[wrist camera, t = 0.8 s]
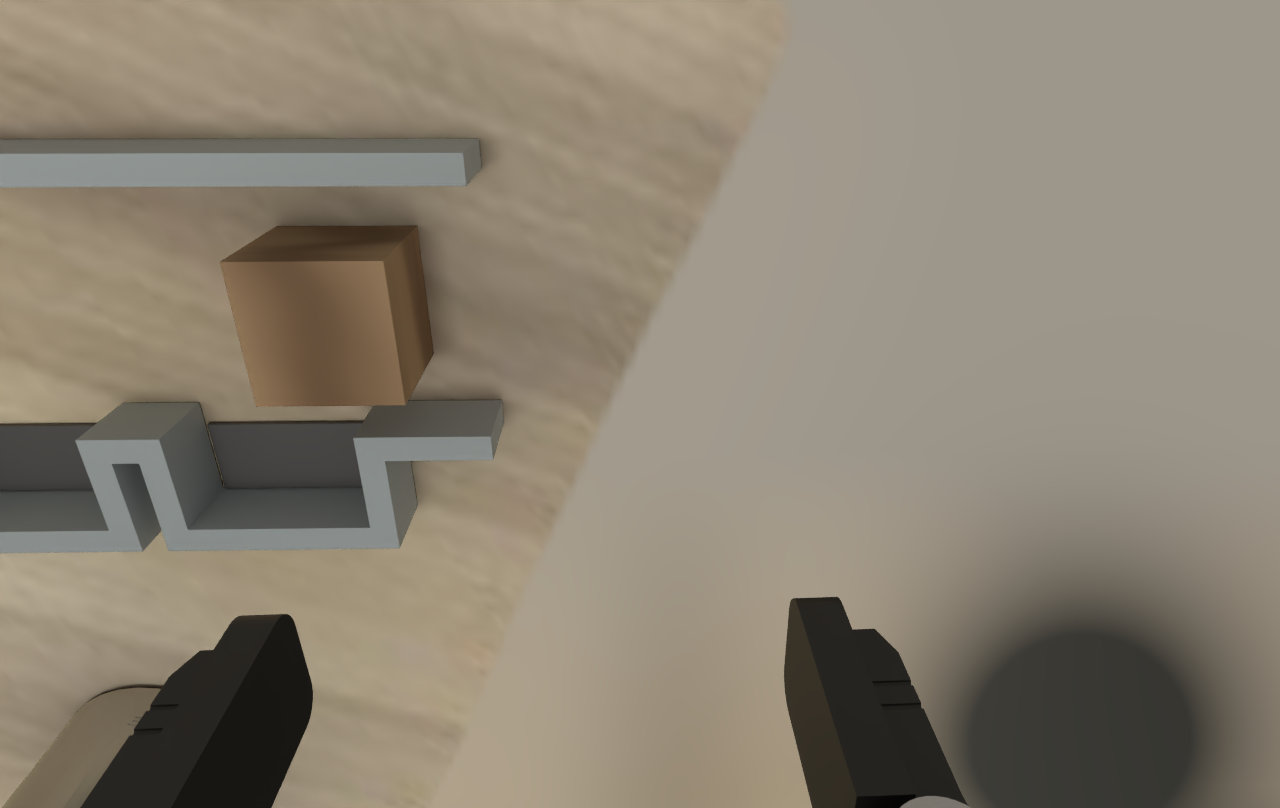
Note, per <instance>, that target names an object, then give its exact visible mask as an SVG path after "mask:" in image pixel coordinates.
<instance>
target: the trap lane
mask: <svg viewBox="0 0 1280 808" xmlns="http://www.w3.org/2000/svg"><path fill="white" fill-rule="evenodd" d="M481 169H482V168H481V156H480V145H479V139H0V187H280V186H467V184H468V183H469V182H470V181H471V180H472V179H473V178H474V177H475V175H476V174H477V173H478V172H479V171H480V170H481ZM503 424H504V417H503V405H502V400H439V401H407V403H406V405H374V406H373V407H372V409H371V410H370V412H369V413H368V415H367V417H366V418H365V420H364V421H311V422H210V423H209V424H208V428H209V432H210V435H211V439H212V442H213V446H214V450H215V453H216V457H217V460H218V464H219V467H220V471H221V474H222V478H223V481H224V485H225V487H223V484H222V481H221V477H220V474H219V470H218V467H217V463H216V460H215V456H214V453H213V449H212V446H211V442H210V439H209V435H208V432H207V428H206V425H205V421H204V418H203V414H202V411H201V407H200V404H199V402H194V403H122V404H121V405H120V406H118V407H117V408H116V409H114V410H113V411H112V412H111V413H109V414H108V415H107V416H106V417H104V418H103V419H102V420H100V421H99V422H98V423H81V424H0V553H50V552H134V551H144V550H145V548H146V547H147V546H148V545H149V544H150V543H151V542H152V541H153V539H154V538H155V537H156V536H157V535H158V534H159V533H160V531H161V530H162V533H163V536H164V539H165V542H166V545H167V548H168V551H219V550H303V549H388V548H400V546H401V544H402V542H403V539H404V537H405V534H406V532H407V530H408V527H409V525H410V522H411V520H412V517H413V515H414V513H415V510H416V508H417V498H416V492H415V485H414V479H413V472H412V466H411V461H454V460H493V459H494V455H495V452H496V448H497V445H498V441H499V438H500V434H501V431H502V427H503Z"/></svg>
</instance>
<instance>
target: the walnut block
mask: <svg viewBox="0 0 1280 808" xmlns="http://www.w3.org/2000/svg"><path fill="white" fill-rule="evenodd" d="M220 264H221V268H222V272H223V276H224V280H225V284H226V288H227V292H228V296H229V300H230V304H231V308H232V312H233V316H234V320H235V324H236V328H237V332H238V336H239V340H240V344H241V348H242V352H243V356H244V360H245V364H246V368H247V372H248V376H249V379H250V383H251V387H252V391H253V395H254V399H255V403H256V407H258V406H372V405H406V403H407V401H408V400H409V398H410V396H411V394H412V392H413V391H414V389H415V387H416V385H417V383H418V381H419V380H420V378H421V376H422V374H423V372H424V370H425V369H426V367H427V365H428V363H429V361H430V360H431V358H432V356H433V354H434V352H433V345H432V337H431V329H430V322H429V314H428V306H427V299H426V291H425V283H424V276H423V268H422V260H421V253H420V245H419V237H418V230H417V226H276V227H275V228H273V229H272V230H270V231H268V232H267V233H265V234H264V235H262V236H260V237H259V238H257V239H256V240H254V241H253V242H251V243H249V244H248V245H246V246H245V247H243V248H241V249H240V250H238V251H237V252H235V253H233V254H232V255H230V256H229V257H227V258H225V259H224V260H222V261H221V262H220Z"/></svg>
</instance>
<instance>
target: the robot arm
mask: <svg viewBox="0 0 1280 808" xmlns="http://www.w3.org/2000/svg"><path fill="white" fill-rule="evenodd" d="M786 643H787V644H786V654H785V666H784V667H785V668H784V682H785V694H786V701H787V707H788V711H789V716H790V720H791V723H792V727H793V731H794V736H795V739H796V744H797V748H798V751H799V756H800V760H801V763H802V768H803V772H804V776H805V780H806V784H807V788H808V792H809V796H810V800H811V804H812V808H971V807H969V806H968V805H967V803H966V801H965V799H964V798H963V796H962V794H961V792H960V790H959V787H958V785H957V783H956V780H955V778H954V776H953V774H952V771H951V769H950V767H949V765H948V763H947V760H946V758H945V756H944V754H943V751H942V749H941V747H940V745H939V742H938V740H937V738H936V736H935V733H934V731H933V729H932V727H931V724H930V722H929V720H928V718H927V716H926V713H925V711H924V709H922V708H921V702H920V700H919V698H918V695H917V693H916V691H915V689H914V686H911V680H910V677H909V675H908V673H907V671H906V669H905V666H904V664H903V662H902V659H901V657H900V655H899V653H898V652H897V651H896V650H895V649H894V648H893V647H892V646H891V645H890V644H889V643H888V642H887V641H886V640H885V639H884V638H883V637H882V636H881V635H880V634H879V633H878V632H877V631H876V630H875V629H861V630H860V629H858V630H852V628H851V625H850V623H849V620H848V617H847V615H846V612H845V610H844V607H843V605H842V602H841V600H840V599H839V598H838V597H823V598H793V599H792V600H791V602H790V608H789V619H788V630H787V642H786ZM312 702H313V689H312V683H311V679H310V676H309V672H308V668H307V665H306V661H305V658H304V654H303V651H302V647H301V644H300V640H299V637H298V633H297V629H296V626H295V623H294V621H293V619H292V617H291V616H290V615H287V614H278V615H248V616H238V617H237V618H235V619H234V620H233V621H232V622H231V624H230V625H229V627H228V628H227V630H226V631H225V633H224V635H223V636H222V638H221V639H220V641H219V642H218V644H217V645H216V647H215V649H214V650H204V651H199V652H198V653H197V654H196V655H195V656H193V657H192V658H191V659H190V660H189V661H187V662H186V663H185V664H184V665H183V666H181V667H180V668H179V669H178V670H177V671H175V672H174V673H173V674H172V675H171V676H170V677H169V678H168V680H167V681H166V683H165V684H164V686H163V687H162V688H161V689H158V688H129V689H120V690H115V691H112V692H109V693H105V694H102V695H99V696H98V697H96V698H94V699H92V700H91V701H89V702H87V703H86V704H85V705H84V706H83V707H82V708H81V709H80V710H79V711H78V712H77V713H76V714H75V715H74V717H73V718H72V719H71V720H70V722H69V723H68V724H67V726H66V727H65V728H64V729H63V731H62V732H61V733H60V735H59V736H58V737H57V738H56V740H55V741H54V742H53V744H52V745H51V746H50V747H49V749H48V750H47V751H46V753H45V754H44V755H43V756H42V758H41V759H40V760H39V762H38V763H37V764H36V765H35V767H34V768H33V769H32V771H31V772H30V773H29V774H28V776H27V777H26V778H25V779H24V780H23V782H22V783H21V784H20V785H19V787H18V788H17V789H16V791H15V792H14V793H13V794H12V796H11V797H10V798H9V800H8V801H7V802H6V803H5V805H4V806H3V807H2V808H271V807H272V805H273V803H274V800H275V798H276V796H277V794H278V791H279V789H280V787H281V785H282V782H283V780H284V778H285V775H286V773H287V771H288V769H289V766H290V764H291V762H292V759H293V757H294V755H295V753H296V750H297V748H298V746H299V744H300V741H301V739H302V737H303V734H304V732H305V730H306V728H307V725H308V722H309V719H310V715H311V710H312Z"/></svg>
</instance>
